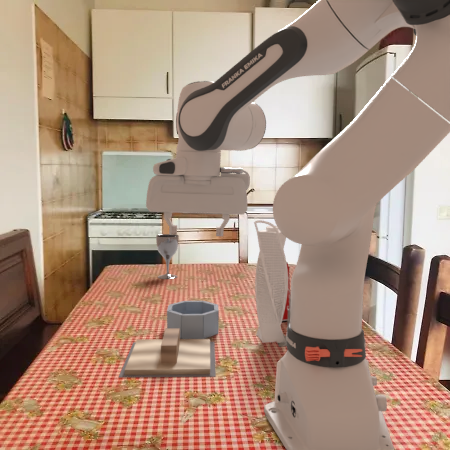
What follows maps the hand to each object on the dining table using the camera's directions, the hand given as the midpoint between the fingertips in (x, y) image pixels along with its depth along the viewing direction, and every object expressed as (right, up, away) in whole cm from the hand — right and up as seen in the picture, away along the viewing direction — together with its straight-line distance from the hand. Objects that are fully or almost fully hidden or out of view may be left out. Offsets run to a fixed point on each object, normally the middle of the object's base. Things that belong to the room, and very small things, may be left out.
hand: (196, 235), depth 98 cm
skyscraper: (+16, -25, +12) cm, 32 cm away
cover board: (-5, -25, 0) cm, 26 cm away
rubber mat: (-5, -26, +1) cm, 26 cm away
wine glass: (-15, -17, +76) cm, 79 cm away
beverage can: (+20, -23, +28) cm, 41 cm away
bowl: (-2, -24, +18) cm, 29 cm away
